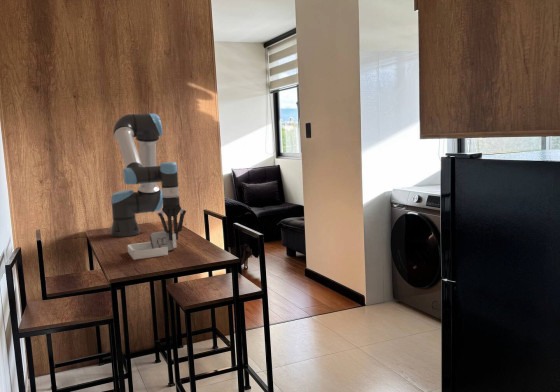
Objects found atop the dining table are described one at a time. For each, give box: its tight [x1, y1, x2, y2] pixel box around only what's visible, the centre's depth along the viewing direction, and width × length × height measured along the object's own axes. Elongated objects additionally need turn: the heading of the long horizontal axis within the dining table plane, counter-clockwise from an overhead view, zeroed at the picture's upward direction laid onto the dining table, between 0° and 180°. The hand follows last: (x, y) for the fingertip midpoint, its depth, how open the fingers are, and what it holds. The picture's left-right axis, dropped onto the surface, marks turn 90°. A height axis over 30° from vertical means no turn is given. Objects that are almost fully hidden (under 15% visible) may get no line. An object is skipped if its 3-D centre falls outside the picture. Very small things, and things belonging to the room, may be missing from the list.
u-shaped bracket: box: [127, 241, 169, 260], centre depth 240 cm, size 16×15×4 cm
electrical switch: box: [149, 230, 174, 252], centre depth 244 cm, size 9×5×9 cm, turn 131°
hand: (174, 246), depth 245 cm, fingers closed
